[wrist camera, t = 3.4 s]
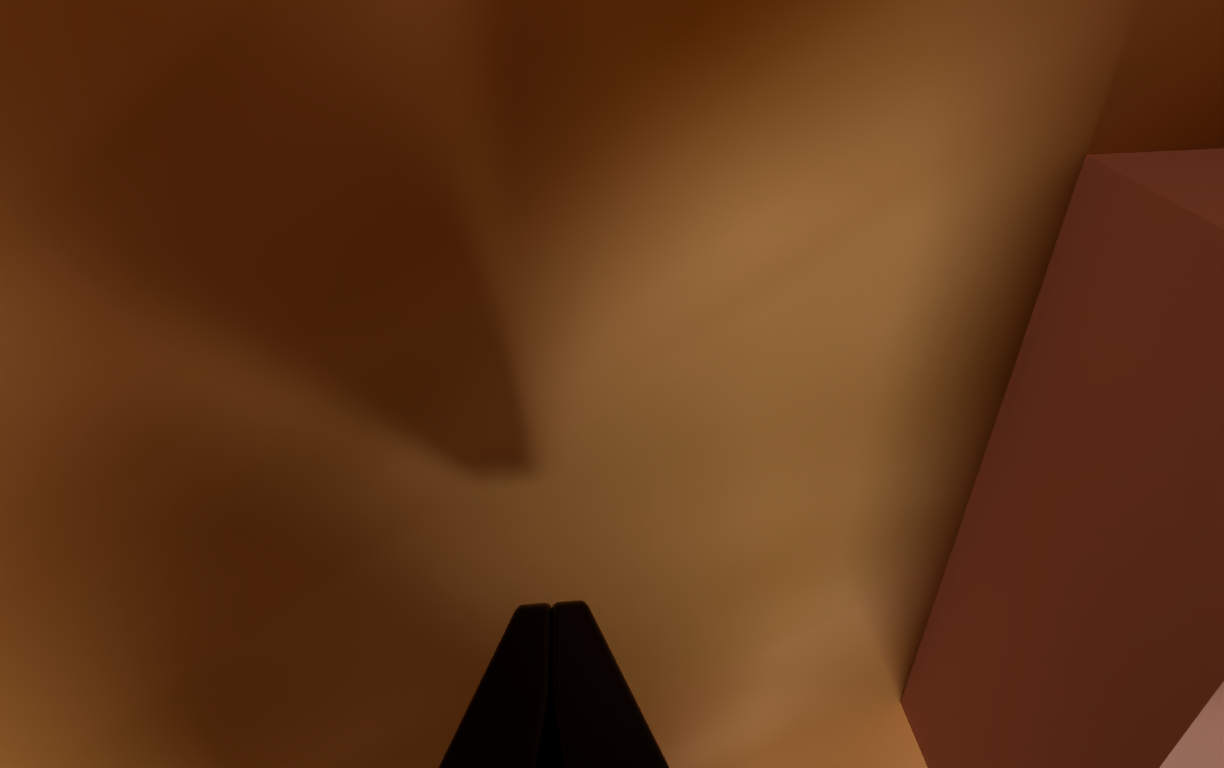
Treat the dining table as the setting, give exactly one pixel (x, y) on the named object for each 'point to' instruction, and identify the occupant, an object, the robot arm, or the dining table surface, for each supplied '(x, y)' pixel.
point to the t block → (1097, 501)
